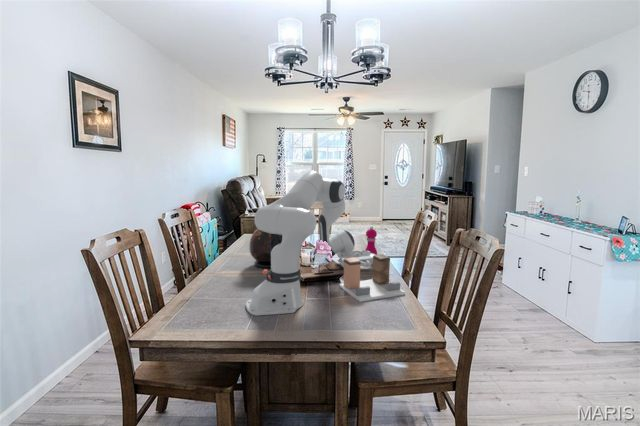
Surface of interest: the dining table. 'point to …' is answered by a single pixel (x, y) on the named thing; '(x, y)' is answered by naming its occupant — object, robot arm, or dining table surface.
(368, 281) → the plate
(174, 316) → the dining table surface
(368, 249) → the pepper mill
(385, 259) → the walnut plug
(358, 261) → the terracotta plug
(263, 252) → the amphora vase
